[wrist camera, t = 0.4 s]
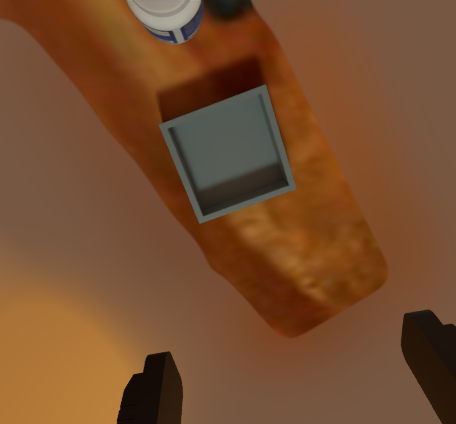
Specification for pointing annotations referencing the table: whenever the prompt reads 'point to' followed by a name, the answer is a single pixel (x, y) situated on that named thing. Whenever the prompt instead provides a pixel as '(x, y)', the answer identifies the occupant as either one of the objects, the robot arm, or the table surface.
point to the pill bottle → (169, 18)
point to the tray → (229, 154)
